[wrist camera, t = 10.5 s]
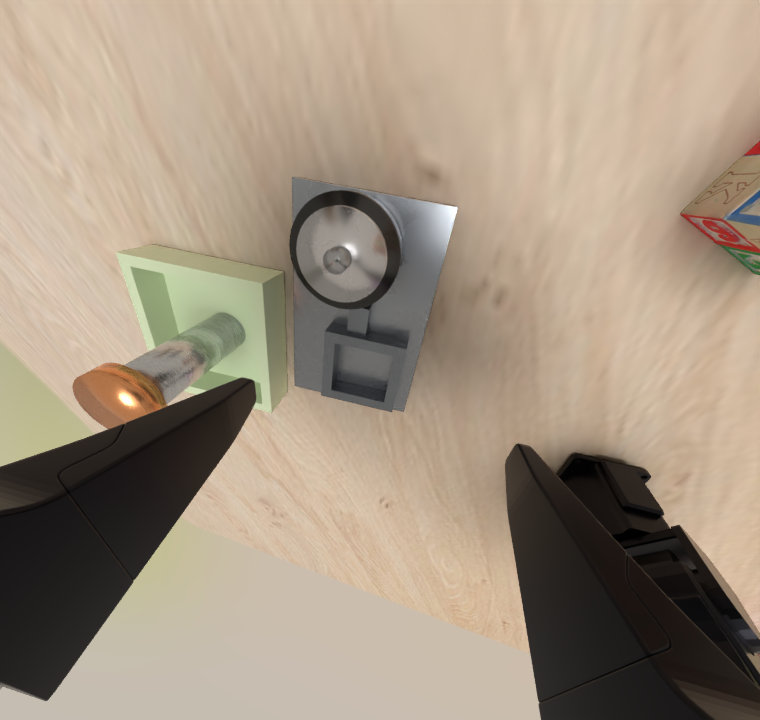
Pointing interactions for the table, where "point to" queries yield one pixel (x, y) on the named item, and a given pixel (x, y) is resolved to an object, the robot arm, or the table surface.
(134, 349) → the table surface
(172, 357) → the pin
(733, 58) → the table surface
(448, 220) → the tensioner
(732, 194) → the stack of blocks
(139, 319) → the tray
